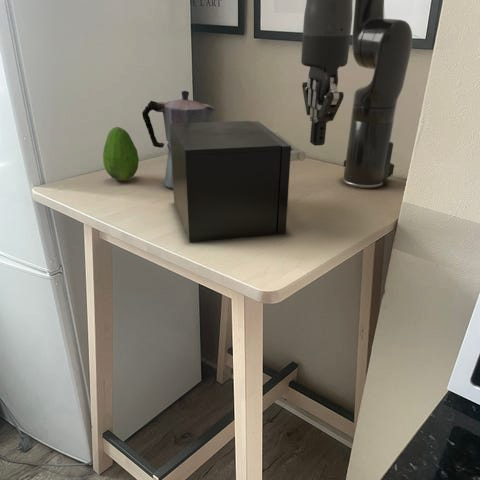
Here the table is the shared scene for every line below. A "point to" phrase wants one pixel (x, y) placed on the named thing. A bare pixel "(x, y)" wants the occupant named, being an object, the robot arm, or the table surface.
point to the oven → (225, 180)
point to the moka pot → (175, 122)
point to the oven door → (283, 173)
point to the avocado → (120, 155)
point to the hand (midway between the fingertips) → (317, 144)
